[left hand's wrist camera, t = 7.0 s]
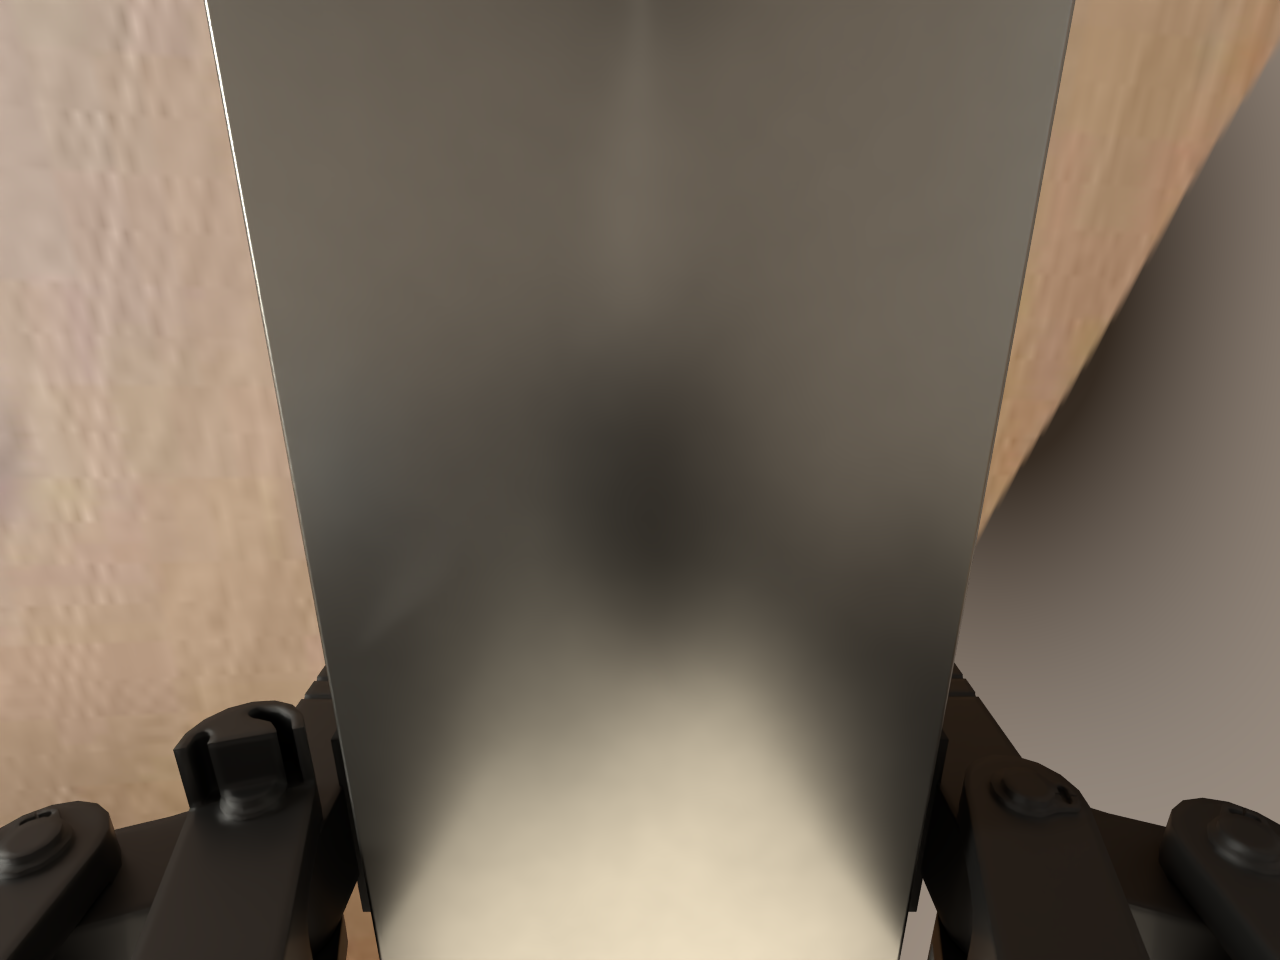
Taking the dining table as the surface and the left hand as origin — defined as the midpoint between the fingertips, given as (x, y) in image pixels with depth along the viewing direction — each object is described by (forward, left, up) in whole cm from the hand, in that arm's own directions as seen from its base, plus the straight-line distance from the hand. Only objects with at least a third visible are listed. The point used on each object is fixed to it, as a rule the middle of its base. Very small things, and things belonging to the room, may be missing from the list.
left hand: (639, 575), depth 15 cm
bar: (+8, +4, -1) cm, 9 cm away
